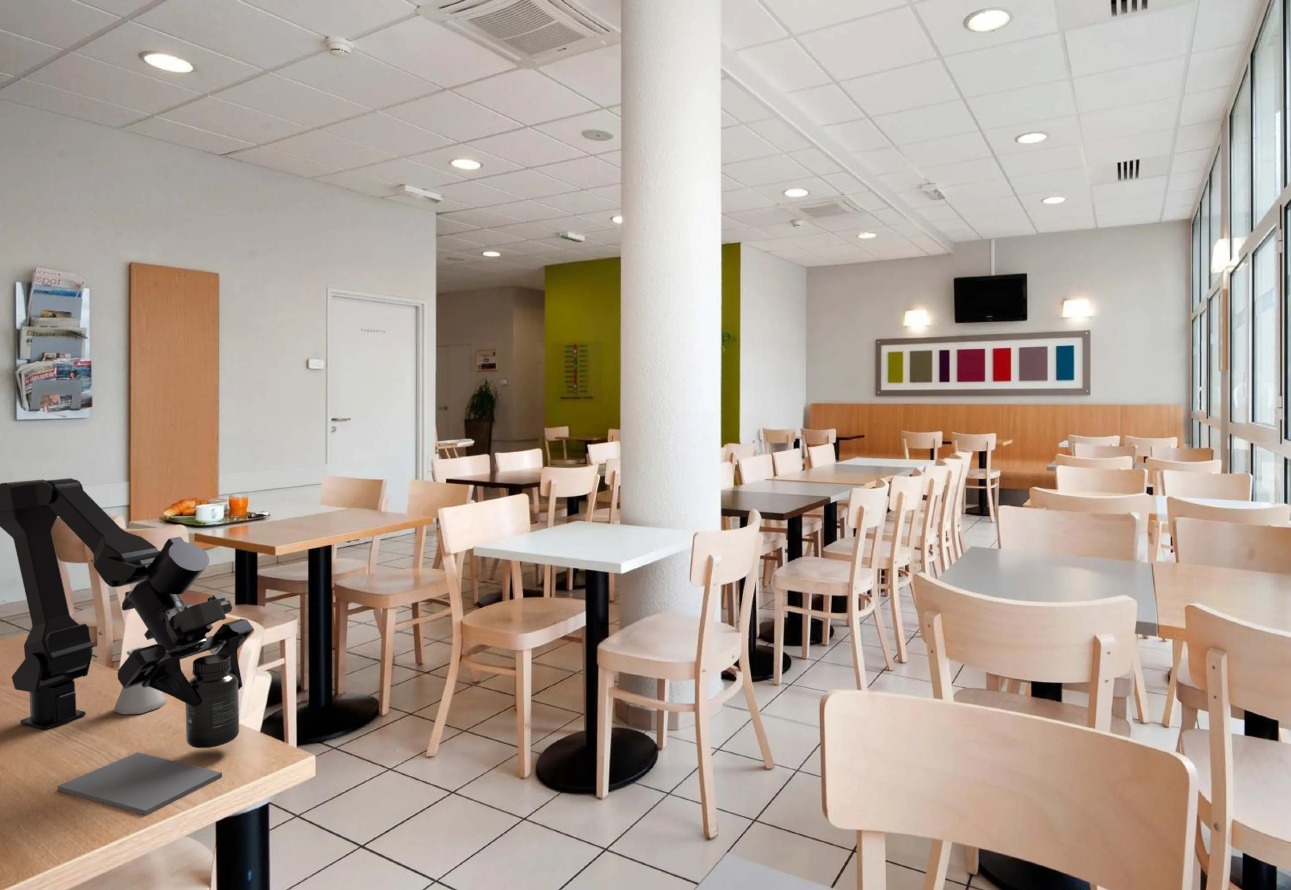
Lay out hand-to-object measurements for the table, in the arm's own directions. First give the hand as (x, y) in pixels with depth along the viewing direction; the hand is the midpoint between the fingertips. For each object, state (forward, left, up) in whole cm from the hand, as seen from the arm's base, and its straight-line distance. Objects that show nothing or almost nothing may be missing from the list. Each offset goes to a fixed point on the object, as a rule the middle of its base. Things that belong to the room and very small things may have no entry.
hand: (219, 696), depth 116 cm
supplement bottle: (-1, 0, -7) cm, 7 cm away
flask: (-28, +8, -9) cm, 31 cm away
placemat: (-2, -11, -9) cm, 14 cm away
